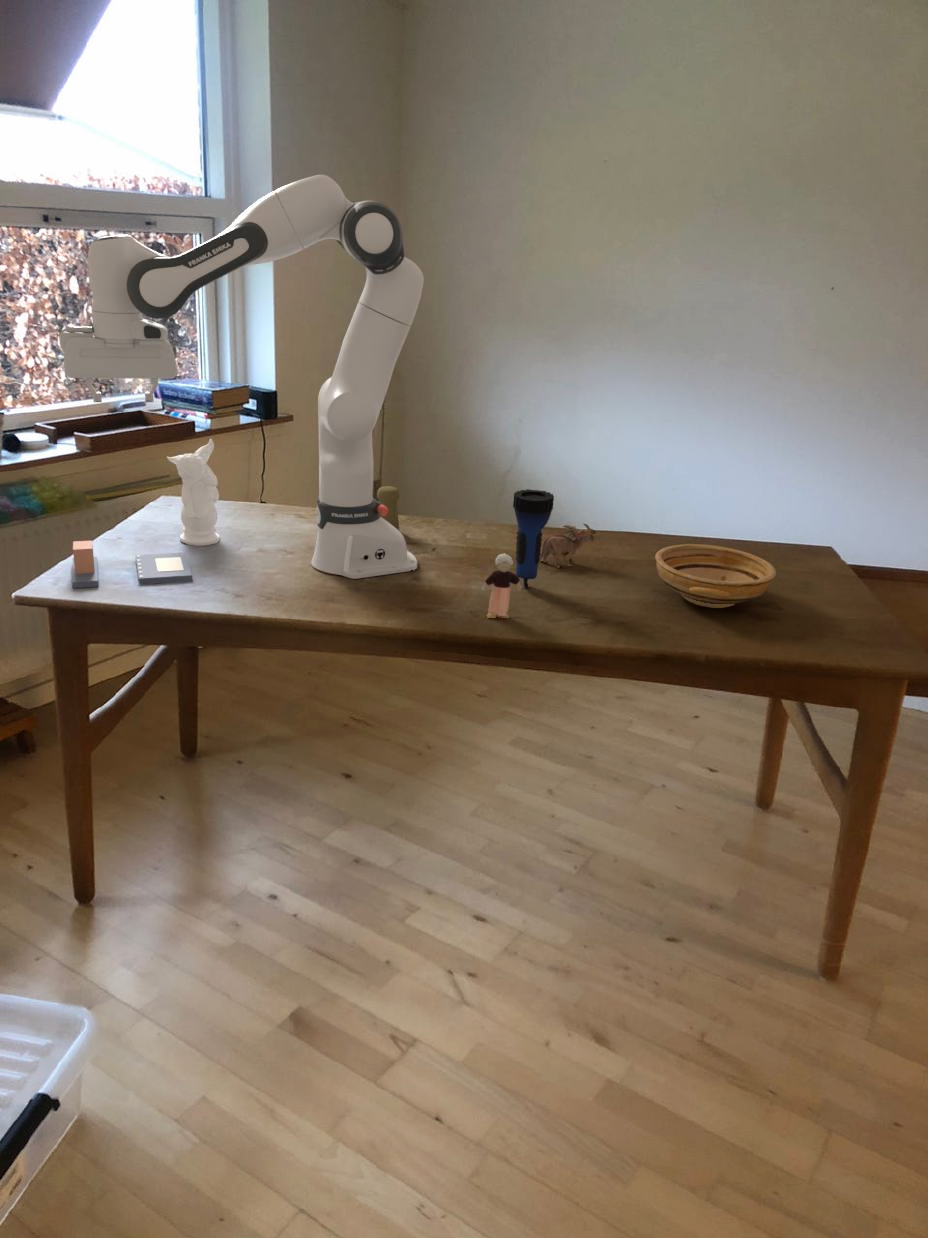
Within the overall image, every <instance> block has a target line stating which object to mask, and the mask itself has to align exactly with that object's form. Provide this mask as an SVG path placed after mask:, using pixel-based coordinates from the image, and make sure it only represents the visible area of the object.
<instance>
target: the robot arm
mask: <svg viewBox="0 0 928 1238" xmlns="http://www.w3.org/2000/svg"><path fill="white" fill-rule="evenodd" d="M403 237H404V236H403V229H402V225H401V222H400V220H399V218H398V215H397V214H396V213H395V211H394V210H393V209H391V208H390V207H389V206H388V205H387V204H384V203H382V202H380V201H375V200H362V201H350V200H349V199H348V198H347V197H346V196H345V194H344V192H343V189H342V188H341V186H340V185H339V184H338V183H337V182H336V181H335V180H334V179H333V178H331V177H330V176H329V175H325V174H317V175H312V176H308V177H305V178H302V179H299V180H296V181H293V182H290V183H288V184H286V185H284V186H281V187H279V188H277V189H276V190H274V191H271V192H270V193H268V194H266V195H265V196H262V197H261V198H259V199H258V200H257V201H255V202H253V204H252V205H250V206H249V207H248V208H247V209H245V210H244V211H242V213H241V214H240V215H238V217H237V218H236V219H235V220H233V222H232V223H231V224H230V225H229V226H228V227H227V228H226V229H224V230H223V231H222V232H220V233H218V235H216V236H214V237H213V238H211V239H209V240H207V241H205V242H203V243H201V244H199V245H196V246H195V247H193V248H191V249H189V250H187V251H185V252H182V253H181V254H179V255H176V256H175V255H174V256H172V257H171V256H168V255H166V254H162V253H160V252H157V251H156V250H153V249H151V248H150V247H147V246H145V244H143V243H141V242H139V241H138V240H137V239H135V238H134V237H133V236H132V235H130V234H123V233H122V234H115V235H109V236H108V235H106V236H101V237H97V238H96V239H94V240H93V241H92V242H91V243H90V246H89V248H88V256H87V257H88V259H87V261H88V283H89V288H90V291H91V294H92V303H91V318H92V319H91V320H92V326H73V325H70V326H66V328H63V329H62V330H61V331H60V332H59V336H58V339H59V346H60V348H61V350H63V351H64V354H63V355H64V356H63V367H64V368H63V369H64V370H63V371H64V372H63V373H64V374H65V375H66V376H67V378H69V379H85V385H86V387H87V388H88V390H89V391H90V392H91V394H92V398H93V399H92V400H93V403H102V392H101V391H96V389H95V387H94V386H93V385H94V382H95V381H94V379H132V380H133V379H134V380H135V379H145V380H146V379H149V381H150V384H151V386H150V389H149V391H144V396H145V397H144V399H145V400H144V401H145V403H154V394H155V393H156V392H155V391H156V390H157V388H158V387H159V380H165V379H167V380H173V379H174V378H175V377H176V376H177V374H178V372H177V371H178V369H177V363H176V357H175V356H176V355H175V353H174V349H173V346H172V344H171V343H170V341H169V340H168V339H167V338H168V336H169V333H168V329H167V327H166V326H165V325H163V324H161V323H158V322H155V321H153V320H150V319H146V318H144V317H143V315H145V316H146V317H149V318H152V319H158V320H160V319H161V320H163V319H168V318H171V317H173V316H175V315H176V314H177V313H179V311H180V310H181V309H182V308H183V307H184V305H185V304H186V303H188V301H189V299H190V297H191V296H192V295H193V294H194V293H195V292H197V291H198V290H200V289H202V288H203V287H205V286H207V285H210V284H211V283H214V282H215V281H217V280H219V279H220V278H223V277H225V276H226V275H228V274H230V273H232V272H234V271H237V270H238V269H242V268H245V267H249V266H254V265H259V264H266V263H270V262H271V263H272V262H275V261H278V260H281V259H285V258H287V257H291V256H293V255H295V254H297V253H299V252H301V251H303V250H305V249H307V248H308V247H310V246H313V245H314V244H316V243H319V242H321V241H324V240H330V239H331V240H336V242H337V243H338V244H339V245H340V246H341V247H342V248H343V250H344V251H345V252H346V253H347V254H348V256H349V257H350V258H352V259H353V260H354V261H356V262H358V263H361V264H362V265H363V266H364V267H365V270H366V271H365V272H366V279H365V282H364V287H363V290H362V293H361V295H360V297H359V299H358V302H357V304H356V307H355V310H354V312H353V315H352V317H351V320H350V323H349V324H348V328H347V330H346V333H345V335H344V337H343V340H342V344H341V347H340V351H339V354H338V358H337V360H336V363H335V366H334V369H333V372H332V375H331V377H329V378H327V380H326V381H324V382H323V384H322V385H321V387H320V390H319V392H318V396H317V397H318V398H317V407H318V408H317V414H318V415H317V419H318V423H317V424H318V425H317V426H318V457H319V460H318V461H319V463H318V464H319V468H318V471H319V473H318V474H319V475H318V476H319V477H318V478H319V479H318V481H319V483H318V484H319V485H318V486H319V487H318V488H319V489H318V490H319V492H318V495H319V496H318V498H317V500H316V501H317V502H316V514H315V515H316V524H317V536H316V543H315V546H314V547H315V548H314V553H313V556H312V559H311V561H310V564H311V566H312V567H313V568H314V569H316V570H318V571H320V572H323V573H326V574H332V575H339V576H343V577H346V578H348V579H354V580H355V579H363V578H364V579H365V578H371V577H376V576H377V577H379V576H384V575H386V576H387V575H391V574H398V573H406V572H411V570H413V571H416V570H415V569H418V560H417V558H416V556H415V555H414V554H413V553H411V552H410V551H409V550H408V547H407V542H406V539H405V537H404V534H403V533H402V532H401V531H399V530H400V529H399V530H397V529H396V528H395V527H394V526H392V525H391V524H390V523H389V522H387V521H386V520H385V519H383V518H382V517H381V516H385V515H387V513H388V508H387V507H386V506H385V505H382V504H381V503H380V502H379V500H376V499H375V498H373V494H374V493H373V491H374V454H373V453H374V450H373V429H374V428H375V426H376V424H377V421H378V418H379V414H380V412H381V409H382V406H383V404H384V401H385V399H386V398H385V397H386V395H387V392H388V389H389V386H390V382H391V379H392V376H393V372H394V370H395V366H396V363H397V360H398V358H399V355H400V353H401V351H402V349H403V346H404V344H405V341H406V339H407V336H408V334H409V332H410V329H411V326H412V324H413V322H414V319H415V316H416V313H417V311H418V307H419V304H420V301H421V296H422V294H423V293H422V292H423V287H424V278H425V277H424V274H423V271H422V270H421V268H420V267H419V265H417V264H416V263H415V262H414V261H413V260H411V259H409V258H408V257H406V256H405V248H404V247H405V246H404V239H403Z"/></svg>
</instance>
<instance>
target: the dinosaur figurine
mask: <svg viewBox="0 0 928 1238" xmlns="http://www.w3.org/2000/svg"><path fill="white" fill-rule="evenodd" d="M583 525H584V526H585V528H586V529H581V530H579V529H577V528H576V525H575V526H572V525H569V524H567V525H563V526H562V527H563V528H565V529H568V530H566V531H564V534H565V533H570V534H569V535H568V536H566V535H564V534H555V535H551V536H549V537H547V538H545V541H544V542H543V543H542V546H541V552H540V553H541V554H540V557H539V558H540V562H541V561H547V557H548V556H549V555H551V556H553V558H552V560H551V562H552V563H553V565H557V566H558V565H559V563H558V561H559V559H560V557H562V558H564V561H565V563H566V565H567V564H570V559H569V558H572V556H574V555H575V554H576V552H577V551H578V550H580V548H581V547H582V546H583V544H584V543H587V542H588V541H590V542H594V541H595V535H597V532H596V530H594V529H593V528H591V527H590V526H589V525H588V524H586V523H583ZM571 536H572V538H575V539H572V538H570V537H571ZM570 565H571V564H570Z"/></svg>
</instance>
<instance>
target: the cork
mask: <svg viewBox="0 0 928 1238" xmlns="http://www.w3.org/2000/svg"><path fill="white" fill-rule="evenodd" d="M376 497H377V499H378V500H377V501H378V502H380V503H381V504H382V505H385V506H386V507H387V508H388V513H387V515H385V516H381V517H382V518H383V519H385V520H386V521H387V522H389V523H390V524H391V525H392V526H394V527H395V528H396V529H397V530H400V521H399V511H398V500H399V498H400V491H399V490H398V488H397V487H394V486H390V485H387V486H386V485H385V486H381V487H379V488H378V490H377V492H376Z"/></svg>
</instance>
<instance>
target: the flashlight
mask: <svg viewBox="0 0 928 1238" xmlns="http://www.w3.org/2000/svg"><path fill="white" fill-rule="evenodd" d="M554 497H555V496H554V494H553V493H551V492H549V491H548V492H547V491H545V490H538V489H530V488H529V489H521V490H517V491H516V492H514V493H513V502H512V503H513V504H512V508H513V509H514V515H515V518H516V522H517V532H516V543H515V545H516V547H515V555H516V556H515V561H516V564H515V565H516V568H515V575H516V576H517V577H518V578H519V579H523V588H524V589H528V588H529V584H528V581H529V580H534V579H536V578H537V576H538V568H539V563H540V562H541V559H540V558H539V557H540V555H541V552H542V541H543V540H542V539H543V538H542V537H543V532H542V531H543V529H544V528H545V527H546V525H547V524H548V521H549V520H550V518H551V517H550V516H551V514H552V510H553V509H554V499H555V498H554Z"/></svg>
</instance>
